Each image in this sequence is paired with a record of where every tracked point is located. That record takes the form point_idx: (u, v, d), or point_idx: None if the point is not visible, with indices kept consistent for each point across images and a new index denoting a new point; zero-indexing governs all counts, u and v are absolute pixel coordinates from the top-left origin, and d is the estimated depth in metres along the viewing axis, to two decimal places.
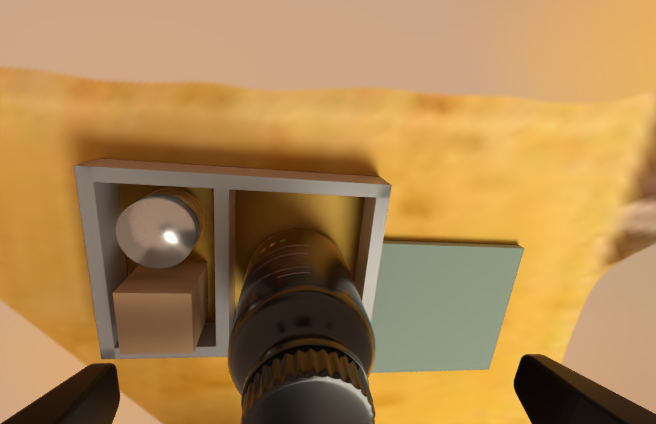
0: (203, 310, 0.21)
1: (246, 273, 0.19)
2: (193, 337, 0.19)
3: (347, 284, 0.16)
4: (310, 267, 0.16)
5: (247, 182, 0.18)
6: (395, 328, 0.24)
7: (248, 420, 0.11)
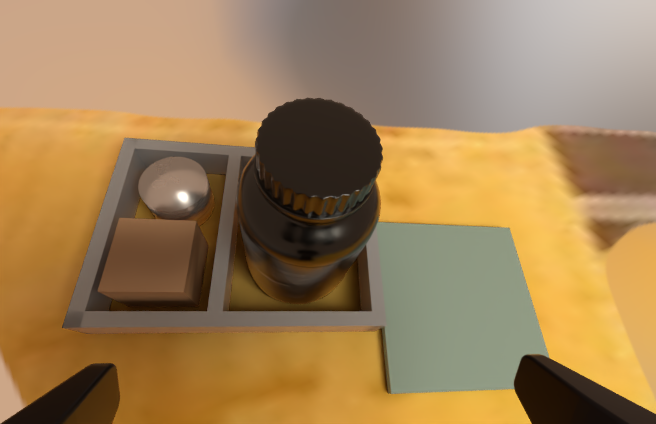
0: (197, 283, 0.19)
1: None
2: (187, 273, 0.17)
3: None
4: None
5: None
6: (416, 319, 0.21)
7: (264, 125, 0.12)
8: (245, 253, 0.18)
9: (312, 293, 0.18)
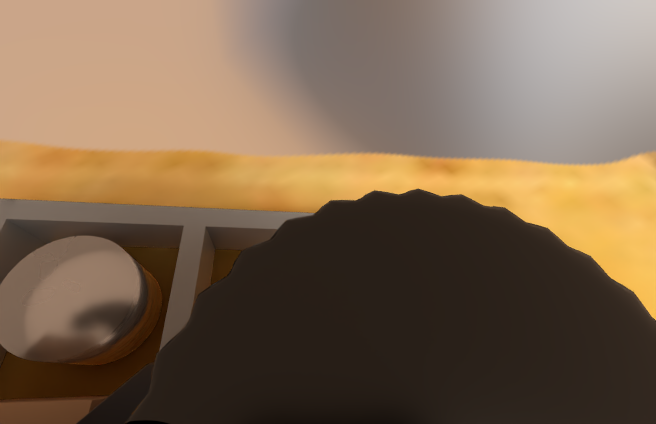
0: None
1: None
2: None
3: None
4: None
5: (233, 217, 0.13)
6: None
7: (158, 400, 0.02)
8: None
9: None
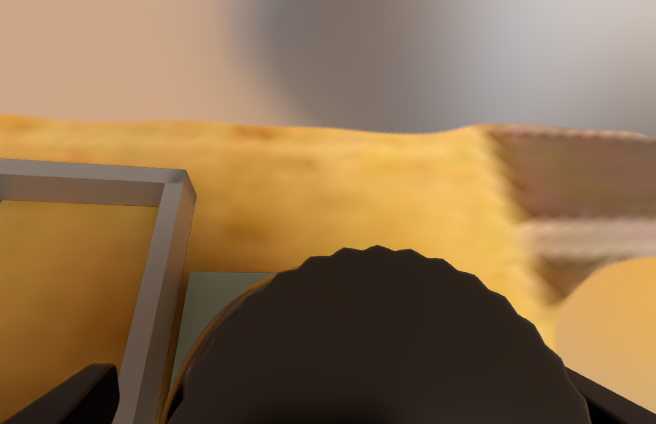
0: None
1: None
2: None
3: None
4: None
5: None
6: None
7: (192, 402, 0.03)
8: None
9: None
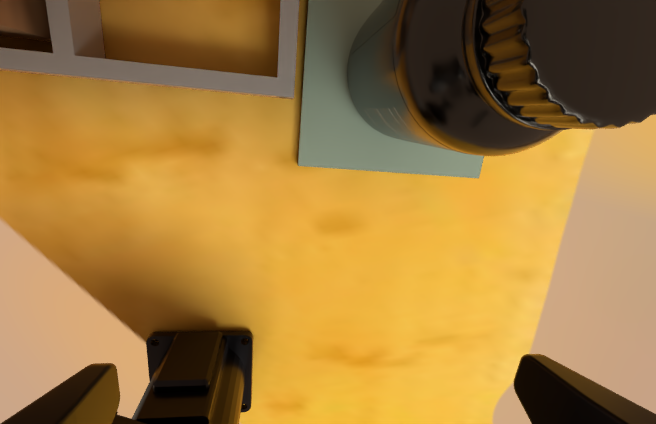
0: (39, 8, 0.14)
1: (365, 24, 0.14)
2: None
3: None
4: None
5: None
6: (344, 91, 0.17)
7: None
8: (360, 84, 0.14)
9: None
